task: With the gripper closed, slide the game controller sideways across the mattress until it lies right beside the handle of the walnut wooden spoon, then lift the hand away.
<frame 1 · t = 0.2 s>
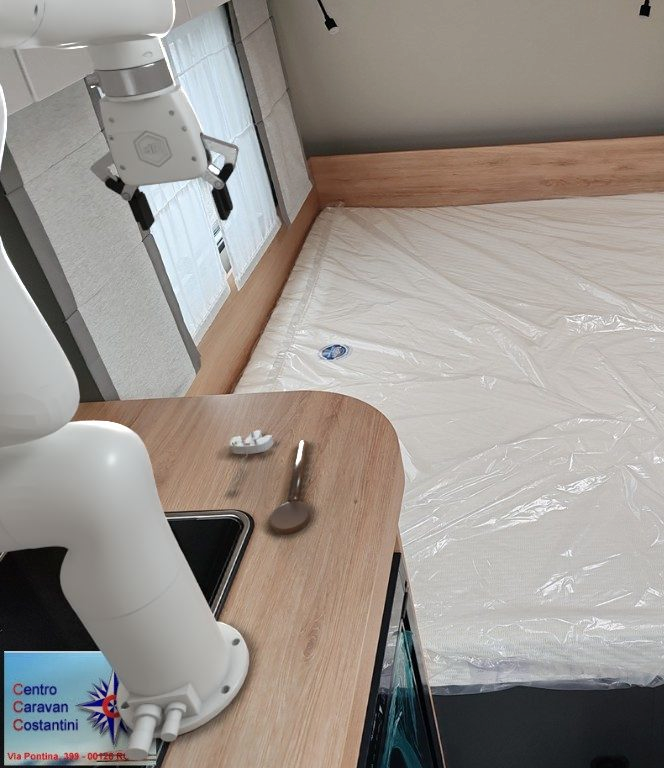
hand: (187, 221, 95), 31 cm above the kitchen counter, tool pointing down, fingers open, 9 cm apart
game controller: (245, 465, 104), on the kitchen counter
spoon: (297, 487, 99), on the kitchen counter
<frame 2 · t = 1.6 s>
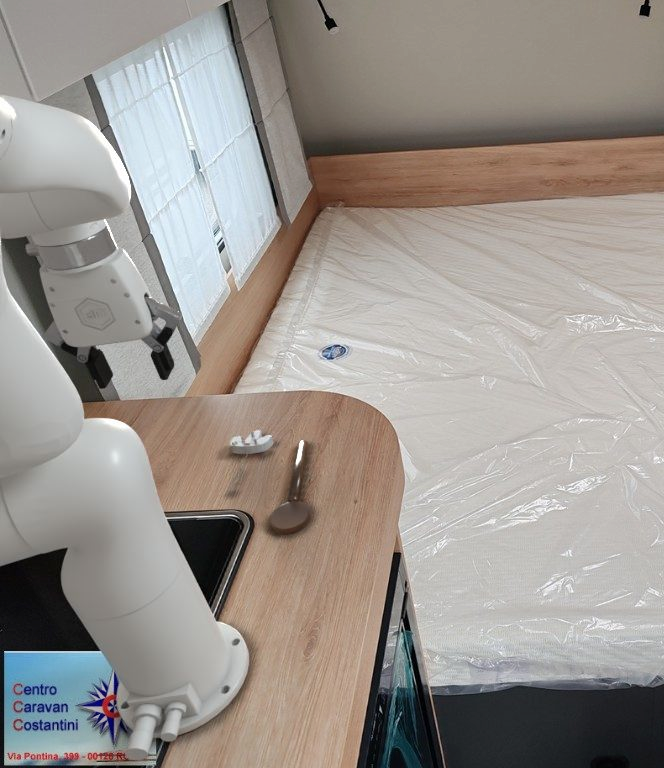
hand: (137, 377, 95), 16 cm above the kitchen counter, tool pointing down, fingers open, 6 cm apart
nothing on the kitchen counter moved.
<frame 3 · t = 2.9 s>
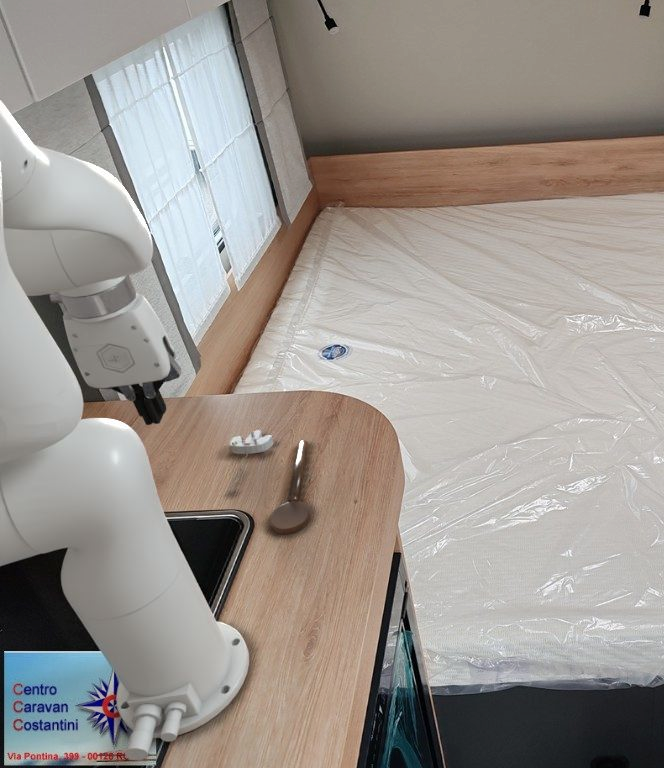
hand: (156, 417, 99), 9 cm above the kitchen counter, tool pointing down, fingers closed
nothing on the kitchen counter moved.
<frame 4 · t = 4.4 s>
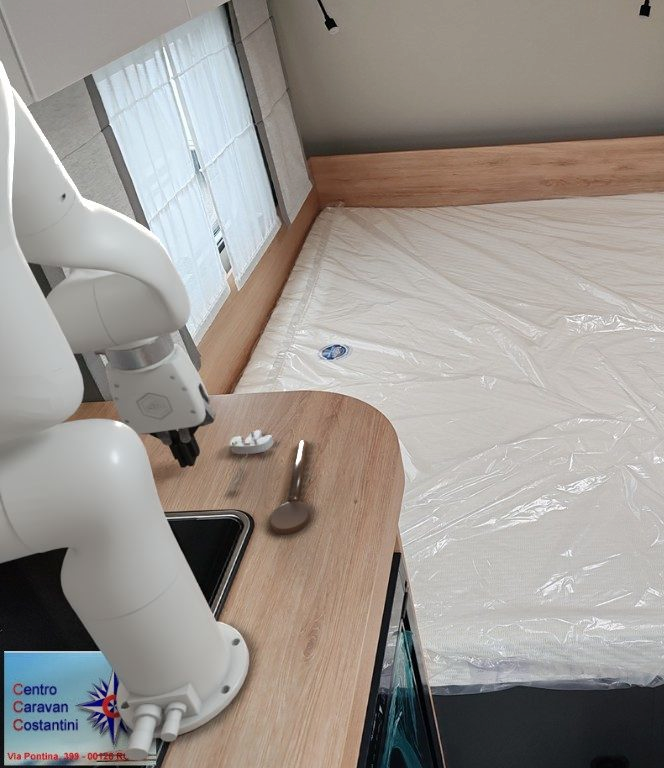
hand: (190, 460, 103), 2 cm above the kitchen counter, tool pointing down, fingers closed
nothing on the kitchen counter moved.
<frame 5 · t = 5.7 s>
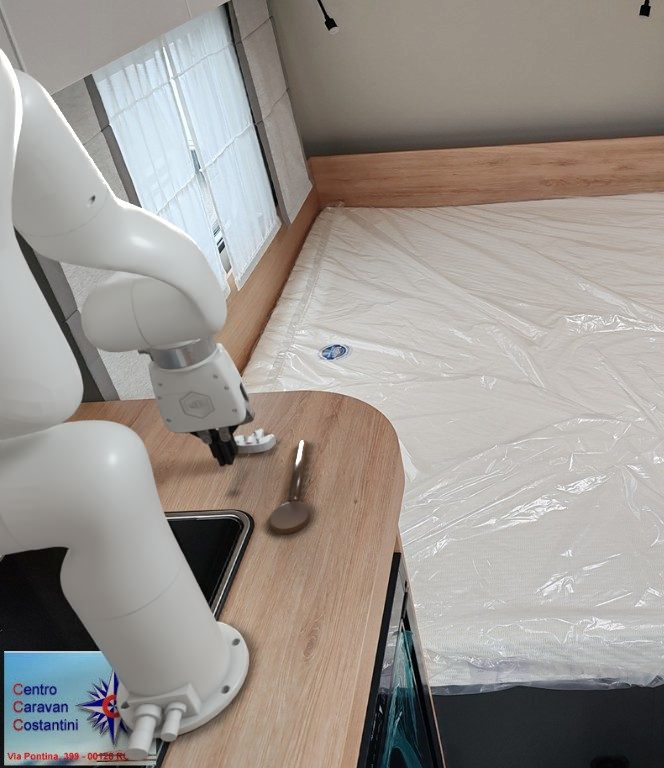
hand: (228, 459, 103), 1 cm above the kitchen counter, tool pointing down, fingers closed
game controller: (247, 464, 104), on the kitchen counter, touching gripper
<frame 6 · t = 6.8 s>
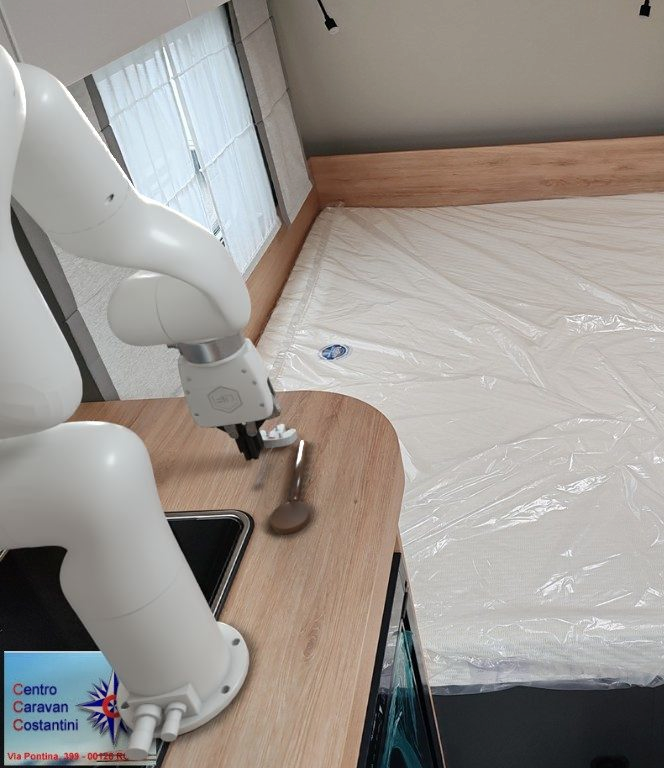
hand: (254, 453, 104), 1 cm above the kitchen counter, tool pointing down, fingers closed
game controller: (270, 458, 104), on the kitchen counter, touching gripper
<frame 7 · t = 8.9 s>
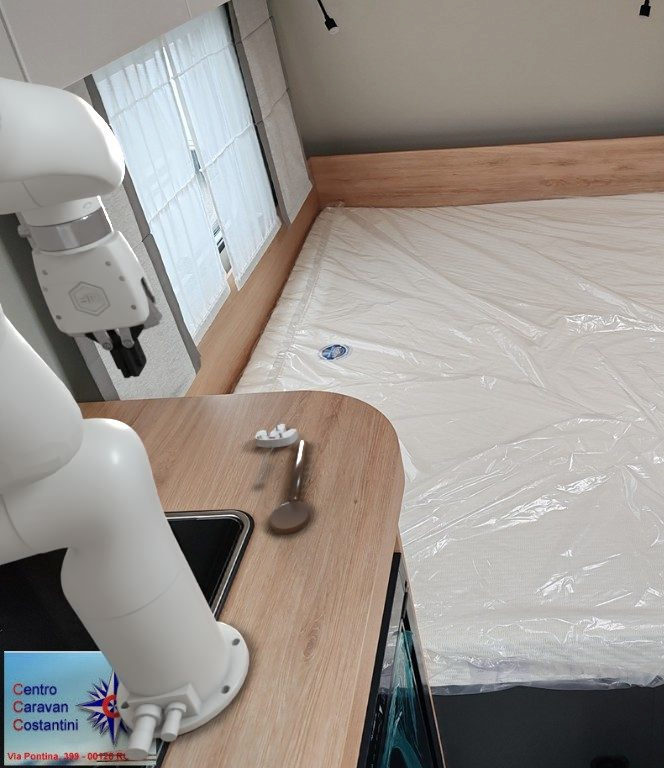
hand: (135, 371, 91), 18 cm above the kitchen counter, tool pointing down, fingers closed
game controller: (270, 458, 104), on the kitchen counter
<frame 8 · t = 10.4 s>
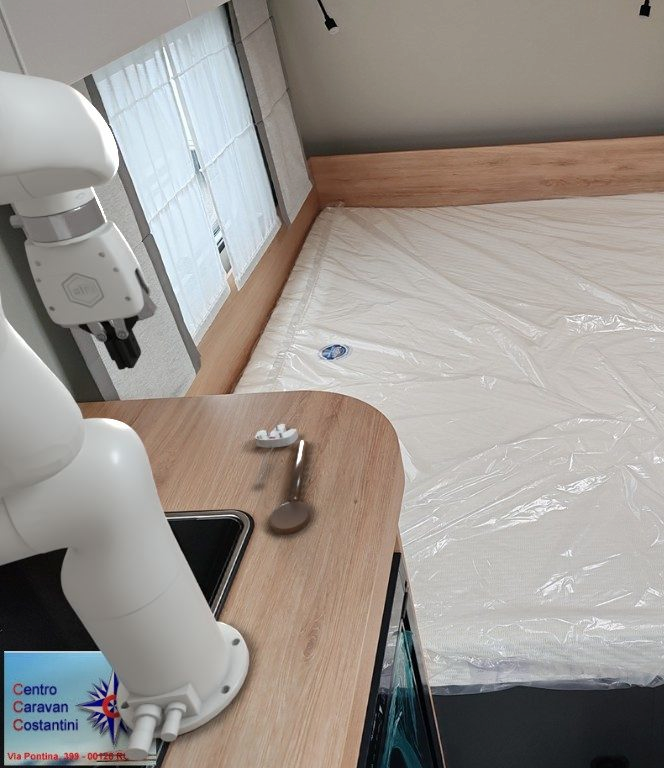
hand: (129, 362, 91), 19 cm above the kitchen counter, tool pointing down, fingers closed
nothing on the kitchen counter moved.
at the end: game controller inside the target area (1.5 cm from its centre), on the kitchen counter; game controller 8.6 cm from the spoon (horizontally); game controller tilted 0° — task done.
